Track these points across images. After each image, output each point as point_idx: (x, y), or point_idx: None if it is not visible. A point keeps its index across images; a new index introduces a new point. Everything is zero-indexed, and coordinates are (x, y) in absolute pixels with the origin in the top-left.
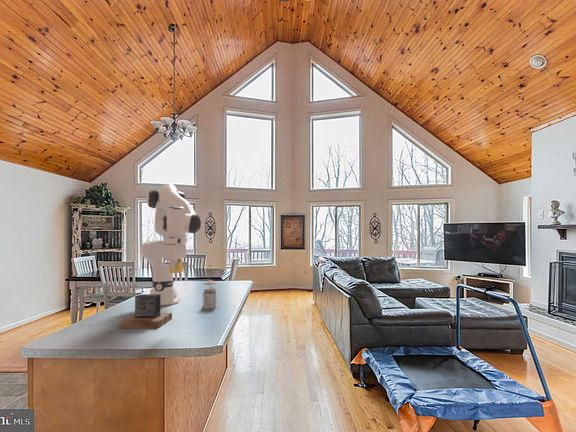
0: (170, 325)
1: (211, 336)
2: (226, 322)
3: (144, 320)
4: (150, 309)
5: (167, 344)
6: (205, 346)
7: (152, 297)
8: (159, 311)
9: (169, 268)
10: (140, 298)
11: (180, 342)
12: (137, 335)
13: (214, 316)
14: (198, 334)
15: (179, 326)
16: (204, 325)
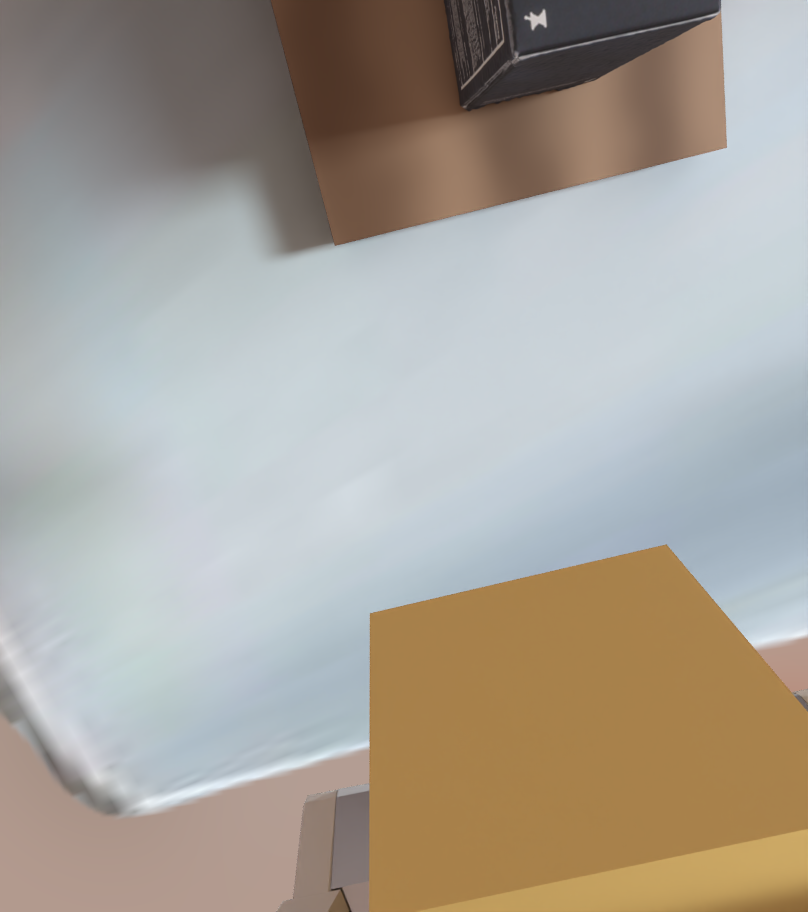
0: (448, 295)
1: (264, 713)
2: None
3: (337, 48)
4: (464, 19)
5: (13, 558)
6: (83, 762)
7: (500, 4)
8: (580, 80)
9: (372, 720)
10: None
11: (84, 609)
12: (87, 195)
13: (787, 506)
14: (277, 627)
15: (434, 392)
16: (501, 560)
